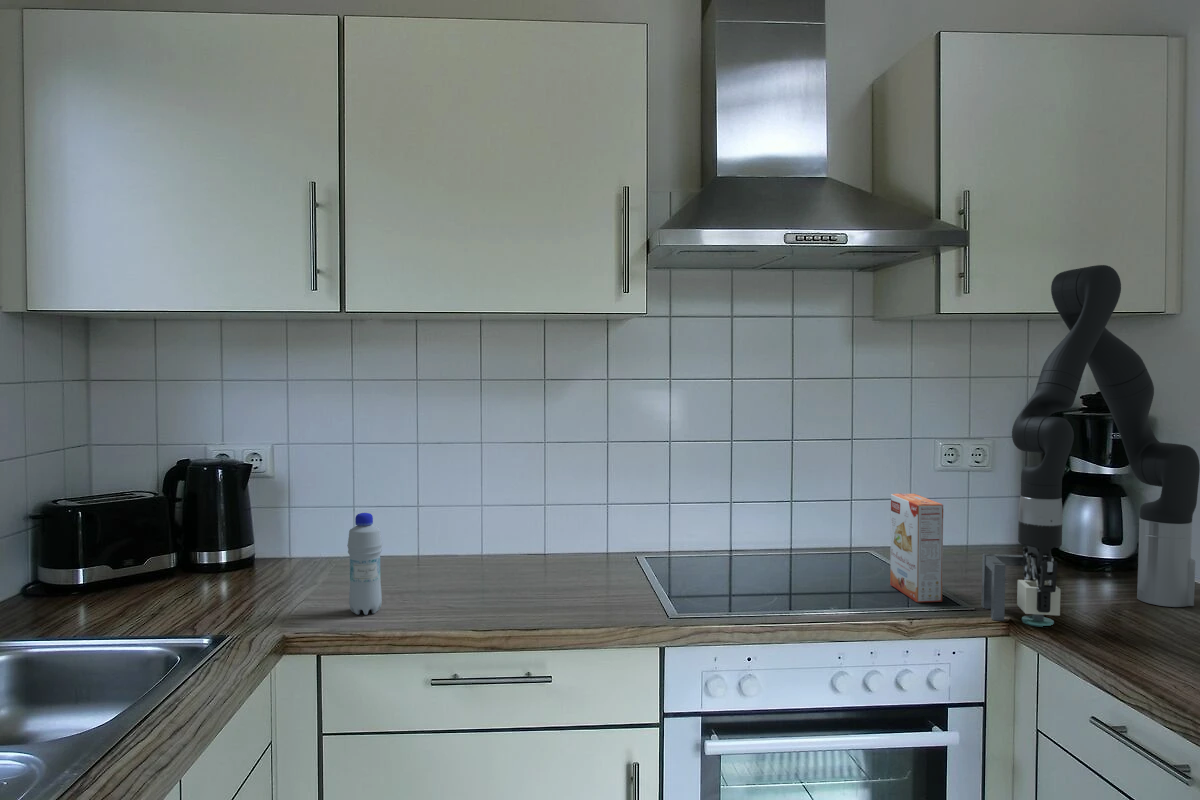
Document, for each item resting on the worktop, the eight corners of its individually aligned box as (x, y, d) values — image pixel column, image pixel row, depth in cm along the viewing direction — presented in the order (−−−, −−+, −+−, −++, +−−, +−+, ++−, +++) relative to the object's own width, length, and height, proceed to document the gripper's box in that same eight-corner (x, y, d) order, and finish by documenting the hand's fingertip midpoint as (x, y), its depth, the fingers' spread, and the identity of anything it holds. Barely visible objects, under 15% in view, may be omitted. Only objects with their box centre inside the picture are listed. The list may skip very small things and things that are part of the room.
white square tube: (1050, 606, 170) (1050, 581, 170) (1059, 615, 164) (1060, 589, 164) (1017, 604, 171) (1017, 579, 171) (1025, 613, 166) (1026, 587, 165)
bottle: (348, 618, 171) (346, 516, 170) (348, 608, 177) (346, 510, 176) (383, 615, 173) (382, 514, 172) (382, 606, 179) (381, 509, 178)
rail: (1033, 608, 177) (1035, 555, 177) (1048, 623, 168) (1050, 567, 167) (981, 606, 179) (982, 553, 179) (993, 620, 170) (994, 564, 169)
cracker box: (888, 586, 195) (889, 493, 194) (914, 585, 196) (916, 492, 195) (915, 603, 181) (916, 503, 180) (943, 602, 182) (945, 503, 181)
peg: (1048, 619, 170) (1049, 591, 170) (1057, 627, 165) (1058, 599, 164) (1018, 617, 171) (1019, 590, 171) (1026, 626, 166) (1027, 597, 166)
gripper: (1074, 528, 159) (1071, 619, 160) (1049, 514, 173) (1047, 598, 174) (1029, 526, 161) (1027, 616, 162) (1009, 513, 175) (1007, 596, 176)
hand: (1038, 606), depth 168 cm, fingers closed on white square tube, 5 cm apart
